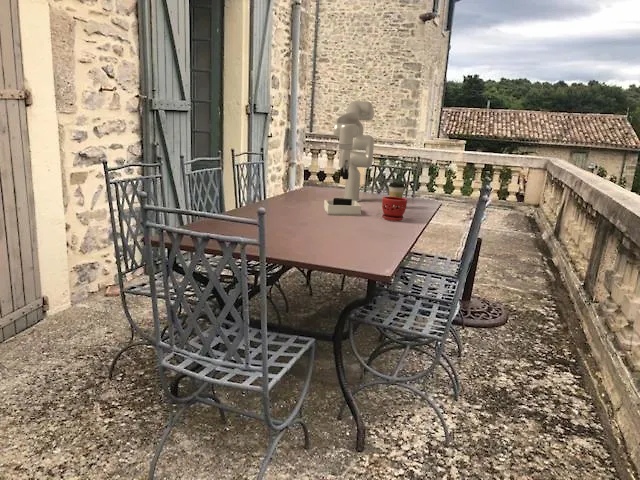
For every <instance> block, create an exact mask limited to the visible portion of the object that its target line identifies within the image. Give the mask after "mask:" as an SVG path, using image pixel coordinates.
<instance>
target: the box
mask: <svg viewBox="0 0 640 480" xmlns="http://www.w3.org/2000/svg"><path fill="white" fill-rule="evenodd" d="M323 201H324V202H323V210H324V211H326V212H325V213H326V214H327V216H353V217H354V216H355V217H358V216H360V217H361V214H362V205H361V204H360V203H359V202H356V201H352V206H349V205H333V199H329V200H328V199H324V200H323Z"/></svg>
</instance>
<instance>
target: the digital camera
mask: <svg viewBox="0 0 640 480" xmlns="http://www.w3.org/2000/svg"><path fill="white" fill-rule="evenodd" d="M332 200H333V205H349V206H352V199H344V197H333V199H332Z"/></svg>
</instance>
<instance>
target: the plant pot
mask: <svg viewBox="0 0 640 480" xmlns="http://www.w3.org/2000/svg"><path fill="white" fill-rule="evenodd" d="M381 203H382V204H381V205H382V212H383V214H382V218H383V219H384V220H387V221H390V222H399V221H402V220H403V219H404V216H403V215H405V213H406V212H405V211H406V210H407V203H408V199H407V198H405V197H402V198H399V197H389V196H383V197H382V202H381ZM393 205H394V207H393ZM396 206H397V207H396ZM398 206H399V207H398Z"/></svg>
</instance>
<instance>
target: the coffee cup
mask: <svg viewBox="0 0 640 480" xmlns="http://www.w3.org/2000/svg"><path fill="white" fill-rule="evenodd" d="M388 187H389V188H388V189H389V192H388V193H389V195H388V197H399V198H403V195H404V189H405V187H406V186H405V184H404V183H403V182H396V181H395V182H391V181H390V183H389V185H388ZM393 207H394V205H393ZM396 207H397V206H396ZM398 207H399V206H398Z"/></svg>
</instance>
